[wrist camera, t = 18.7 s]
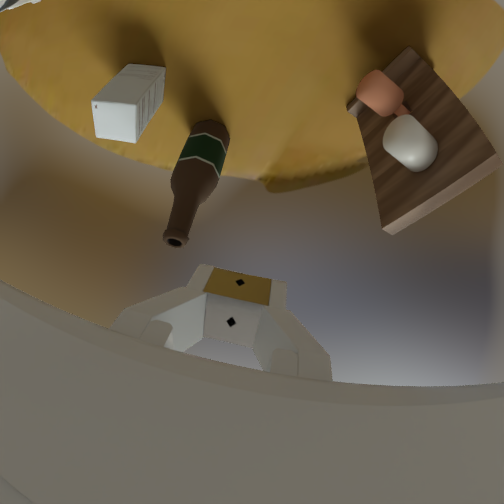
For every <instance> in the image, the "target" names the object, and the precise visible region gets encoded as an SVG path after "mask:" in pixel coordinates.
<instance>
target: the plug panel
mask: <svg viewBox="0 0 504 504" xmlns="http://www.w3.org/2000/svg"><path fill="white" fill-rule="evenodd" d="M382 73H383V74H385V75H386V76H387V77H388V78H389V79H390V80H392V81H393V82H394V83H395V84H396V85H397V86H398V87H399V88H401V89H402V91H403V93H404V98H403V101H402V105H403V106H404V107H406V108H407V109H408V110H409V111H410V112H411V111H412V112H411V113H410V114H409V115H411V116H413V117H414V118H415V119H416V120H417V121H418V122H419V123H420V124H421V125H422V126H423V127H424V128H425V129H426V130H427V131H428V132H429V133H430V134H431V135H432V136H433V137H434V138H435V140H436V141H437V144H438V152H437V156H436V158H435V160H434V161H433V163H432V164H431V165H430V166H429V167H428V168H426V169H425V170H423V171H420V172H413V171H410V170H409V169H408V168H407V167H405V166H404V165H403V164H402V163H401V162H399V161H398V160H397V159H396V158H395V157H393V156H392V155H391V154H390V153H388V152H387V151H386V150H385V149H384V147H383V136H384V133H385V131H386V129H387V127H388V126H389V124H390V123H391V122H392V121H393V120H394V119H396V118H397V117H398V116H397V115H396V114H395V113H393V114H391V115H389V116H386V117H383V116H380V115H379V114H378V113H376V112H375V111H374V110H373V109H371V108H370V107H369V106H367V105H366V104H365V103H364V102H362V101H361V100H360V99H358V98H357V97H356V98H355V99H354V100H353V101H352V102H351V103H350V104H349V105H348V106H347V107H346V108H347V111H348V112H349V113H350V114H352V115H353V116H355V117H356V118H357V121H358V124H359V128H360V131H361V135H362V138H363V142H364V146H365V150H366V154H367V158H368V162H369V166H370V170H371V174H372V179H373V183H374V188H375V193H376V198H377V203H378V209H379V214H380V219H381V226H382V229H383V230H385V231H387V232H388V233H390V234H391V235H394V234H395V233H397V232H398V231H400V230H402V229H404V228H405V227H407V226H409V225H410V224H412V223H414V222H415V221H417V220H419V219H420V218H422V217H424V216H425V215H427V214H429V213H430V212H432V211H433V210H435V209H437V208H438V207H440V206H441V205H443V204H445V203H446V202H447V201H449V200H451V199H452V198H454V197H455V196H457V195H459V194H460V193H462V192H463V191H465V190H466V189H468V188H469V187H471V186H472V185H474V184H475V183H477V182H478V181H480V180H481V179H483V178H484V177H486V176H487V175H489V174H490V173H492V172H493V171H494V170H496V169H497V168H499V167H500V166H502V165H503V163H502V162H501V160H500V158H499V156H498V154H497V153H496V151H495V149H494V148H493V146H492V145H491V143H490V142H489V140H488V139H487V137H486V136H485V134H484V133H483V131H482V130H481V128H480V127H479V125H478V124H477V122H476V121H475V120H474V118H473V117H472V116H471V114H470V113H469V112H468V110H467V109H466V108H465V106H464V105H463V104H462V103H461V102H460V100H459V99H458V98H457V96H456V95H455V94H454V93H453V92H452V90H451V89H450V88H449V87H448V86H447V85H446V84H445V82H444V81H443V80H442V79H441V78H440V77H439V76H438V75H437V74H436V72H435V71H434V70H433V69H432V68H431V67H430V66H429V65H428V64H427V63H426V62H425V61H424V60H423V59H422V58H421V57H420V56H419V55H418V54H417V53H416V52H415V51H414V50H413V49H412V48H411V47H410V46H408V47H407V48H406V49H405V50H404V51H403V52H402V53H401V54H400V55H399V56H397V57H396V58H395V59H394V60H393V61H392V62H391V63H390V64H389V65H388V66H387V67H386V68H385V69H384V70H383V71H382Z"/></svg>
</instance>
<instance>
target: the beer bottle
mask: <svg viewBox="0 0 504 504" xmlns="http://www.w3.org/2000/svg"><path fill="white" fill-rule="evenodd" d="M229 141H230V138H229V135H228V133H227V130H226V128H225V126H223V125H221V124H219V123H217V122H215V121H213V120H208V121H203V122H198V123H196V124H195V126H194V128H193V130H192V132H191V133H190V135H189V137H188V139H187V141H186V143H185V146H184V148H183V150H182V152H181V154H180V157H179V159H178V161H177V164H176V166H175V168H174V171H173V174H172V177H171V188H172V191H173V193H174V203H173V207H172V211H171V215H170V219H169V222H168V226H167V230H165V232H164V233H163V241H164V242H165V243H166V244H167V245H169V246H172V247H174V248H183V247H184V246H185V245H186V243H187V242H188V240H189V238H188V237H187V236H188V234H189V231H190V228H191V225H192V222H193V219H194V217H195V214H196V211H197V209H198V207H199V205H200V204H202V203H203V202H205V201H206V199H207V198H208V197H209V196H210V194H211V193H212V192H213V190H214V189H215V187H216V186H217V183H218V180H219V178H220V174H221V171H222V167H223V163H224V160H225V156H226V153H227V149H228V146H229Z"/></svg>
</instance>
